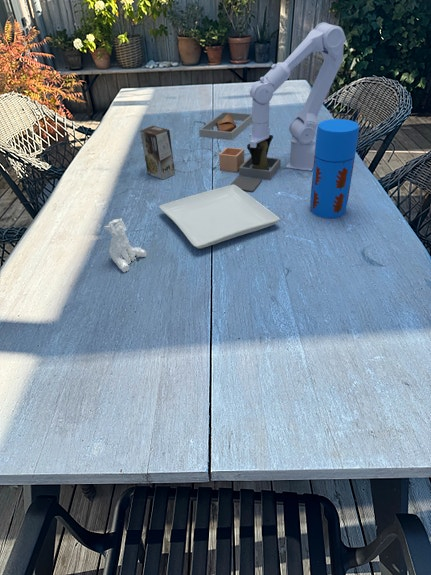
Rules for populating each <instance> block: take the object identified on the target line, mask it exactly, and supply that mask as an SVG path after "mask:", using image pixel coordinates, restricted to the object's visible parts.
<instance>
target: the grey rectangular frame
mask: <svg viewBox="0 0 431 575" xmlns="http://www.w3.org/2000/svg"><path fill="white" fill-rule="evenodd" d="M281 160H282V159H281V158H277V157H269V156H267V162H268V167H270V168H269V169H268V170H261V169H253V168H251V167H252V166H253V162H252V157H251V155H249V157H248V158H247V159H246V160H244V163H243V164H242V165H241V166H240V167H239V171H238V175H239V176H241V177H248V178H255V179H262V180H266V181H267V180H269V181H270V180H272V178H274V176H275V174H277V172H278V171H279V169H280V168H281V167H282V166H281V164H282V161H281Z"/></svg>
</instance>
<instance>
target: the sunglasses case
mask: <svg viewBox="0 0 431 575" xmlns="http://www.w3.org/2000/svg"><path fill="white" fill-rule="evenodd" d="M216 127H217V131H225V132H232V131H233V130H234V129H235V128H236V127H237V125H236V122H235V120H233V118H232V117H231V115H230V114H228V115H226V116H225V117H224V118H223V119H221V120H219V121H218V122H217V123H216Z"/></svg>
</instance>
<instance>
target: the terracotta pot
mask: <svg viewBox="0 0 431 575" xmlns="http://www.w3.org/2000/svg"><path fill="white" fill-rule="evenodd" d="M218 161H219V162H218V163H219V164H218V165H219V171H224V172H232V173H239V167H240V166H241V165H242V164H243V163H244V162H245V148H238V147H237V148H236V147H228V146H227V147H225V148H224V149H223V150H222V151H220V153H219V154H218Z"/></svg>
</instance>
